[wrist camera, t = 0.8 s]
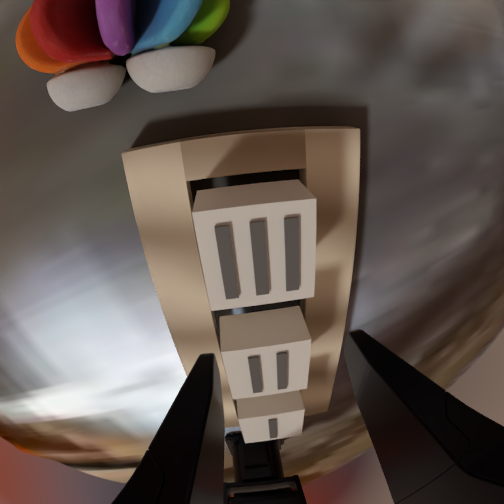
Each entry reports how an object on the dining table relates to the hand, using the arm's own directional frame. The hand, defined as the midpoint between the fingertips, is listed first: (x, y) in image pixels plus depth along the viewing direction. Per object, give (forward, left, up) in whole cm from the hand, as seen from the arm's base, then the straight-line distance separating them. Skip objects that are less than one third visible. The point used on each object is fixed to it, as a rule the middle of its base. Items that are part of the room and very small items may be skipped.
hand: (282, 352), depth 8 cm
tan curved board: (-8, 0, -10) cm, 13 cm away
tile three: (0, 0, -8) cm, 8 cm away
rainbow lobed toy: (+12, +5, -10) cm, 17 cm away
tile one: (-16, 0, -8) cm, 18 cm away
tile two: (-8, 0, -8) cm, 12 cm away
